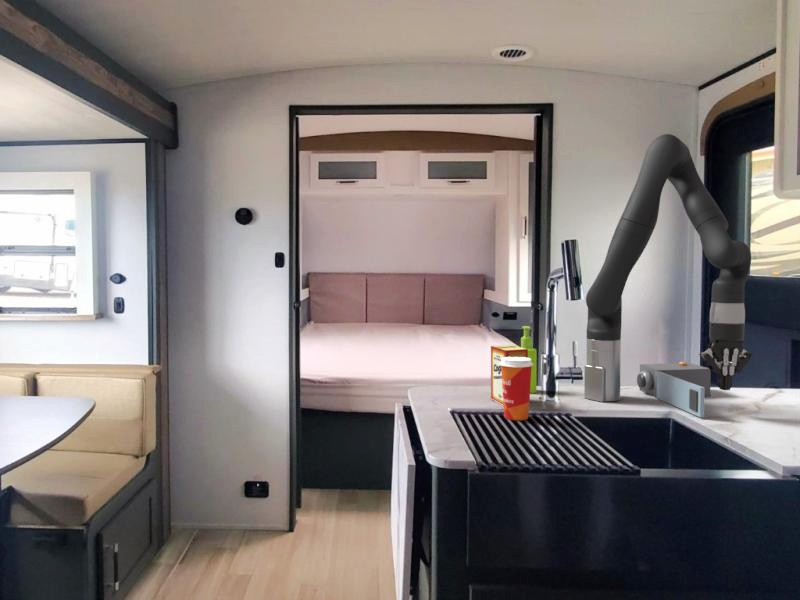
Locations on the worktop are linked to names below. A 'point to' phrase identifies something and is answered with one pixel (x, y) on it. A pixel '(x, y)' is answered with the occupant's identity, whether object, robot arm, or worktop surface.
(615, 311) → the robot arm
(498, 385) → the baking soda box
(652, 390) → the camera housing
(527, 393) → the coffee cup
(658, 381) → the side door
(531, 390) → the soap dispenser
